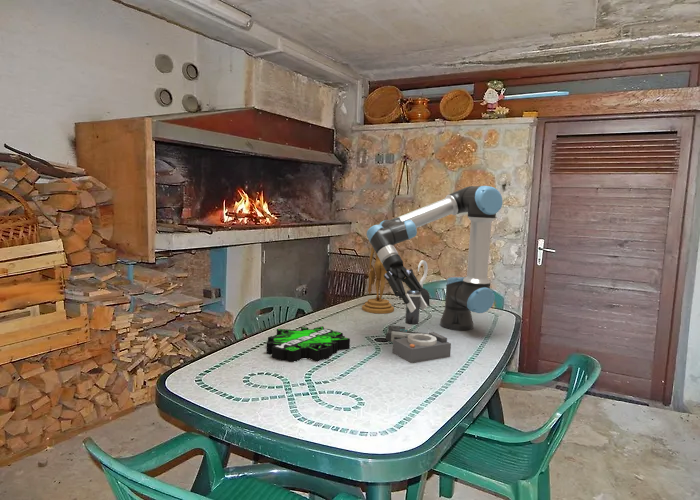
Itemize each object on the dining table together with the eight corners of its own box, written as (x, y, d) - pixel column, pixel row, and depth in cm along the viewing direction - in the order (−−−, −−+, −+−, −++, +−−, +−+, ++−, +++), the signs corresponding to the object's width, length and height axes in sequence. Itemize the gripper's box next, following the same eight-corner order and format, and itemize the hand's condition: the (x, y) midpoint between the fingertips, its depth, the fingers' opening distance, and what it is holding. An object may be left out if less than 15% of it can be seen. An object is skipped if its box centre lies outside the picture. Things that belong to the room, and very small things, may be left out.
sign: (305, 357, 158) (244, 338, 175) (305, 369, 159) (244, 349, 176) (360, 335, 185) (302, 321, 202) (359, 346, 185) (302, 331, 202)
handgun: (439, 337, 201) (437, 348, 186) (388, 332, 206) (382, 342, 191) (439, 328, 201) (438, 338, 186) (388, 323, 205) (383, 332, 191)
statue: (396, 307, 250) (400, 230, 246) (391, 315, 234) (395, 232, 229) (365, 304, 254) (368, 228, 249) (358, 311, 238) (362, 230, 233)
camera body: (430, 346, 187) (431, 330, 186) (450, 356, 177) (451, 339, 176) (392, 352, 178) (393, 335, 178) (411, 362, 168) (412, 345, 167)
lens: (413, 320, 179) (415, 289, 178) (421, 324, 174) (423, 291, 173) (401, 321, 176) (403, 290, 175) (410, 325, 172) (412, 292, 171)
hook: (425, 308, 251) (428, 262, 248) (406, 305, 257) (409, 260, 254) (433, 304, 260) (436, 260, 257) (415, 301, 266) (418, 258, 263)
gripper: (402, 263, 191) (430, 311, 181) (368, 266, 180) (395, 318, 169) (412, 252, 186) (441, 300, 176) (377, 254, 175) (406, 307, 165)
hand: (419, 309), depth 173 cm, fingers closed on lens, 5 cm apart
